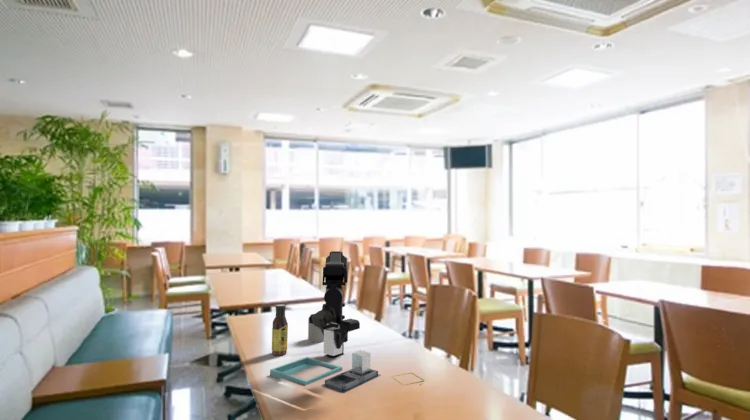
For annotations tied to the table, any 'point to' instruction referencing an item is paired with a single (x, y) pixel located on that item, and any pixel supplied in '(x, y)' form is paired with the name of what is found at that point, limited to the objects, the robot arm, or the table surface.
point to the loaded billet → (361, 363)
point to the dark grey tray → (349, 380)
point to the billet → (331, 342)
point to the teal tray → (301, 365)
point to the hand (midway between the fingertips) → (333, 347)
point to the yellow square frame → (410, 383)
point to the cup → (314, 333)
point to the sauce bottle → (279, 331)
